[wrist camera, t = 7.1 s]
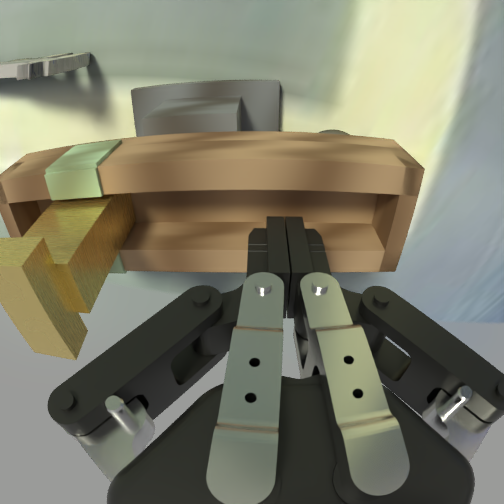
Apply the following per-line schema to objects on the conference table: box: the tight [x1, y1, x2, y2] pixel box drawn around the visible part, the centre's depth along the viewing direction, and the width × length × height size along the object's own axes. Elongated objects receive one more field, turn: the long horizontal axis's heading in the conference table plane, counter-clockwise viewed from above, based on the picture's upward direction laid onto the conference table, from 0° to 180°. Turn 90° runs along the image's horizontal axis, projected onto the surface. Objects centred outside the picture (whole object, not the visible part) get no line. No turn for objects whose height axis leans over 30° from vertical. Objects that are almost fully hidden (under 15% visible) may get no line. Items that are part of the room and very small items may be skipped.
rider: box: [0, 193, 136, 360], centre depth 13 cm, size 4×5×9 cm
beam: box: [0, 80, 425, 273], centre depth 18 cm, size 22×10×10 cm, turn 90°
